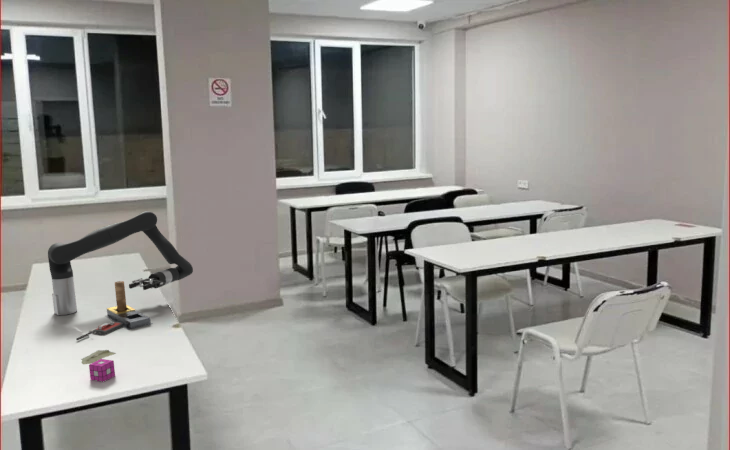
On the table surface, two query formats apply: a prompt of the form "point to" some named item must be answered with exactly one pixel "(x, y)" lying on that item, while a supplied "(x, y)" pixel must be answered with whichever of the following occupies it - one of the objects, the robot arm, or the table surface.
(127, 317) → the socket rail
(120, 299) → the walnut peg
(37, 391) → the table surface
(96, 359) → the topographic map
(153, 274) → the robot arm
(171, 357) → the table surface
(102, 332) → the walkie-talkie
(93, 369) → the puzzle toy
